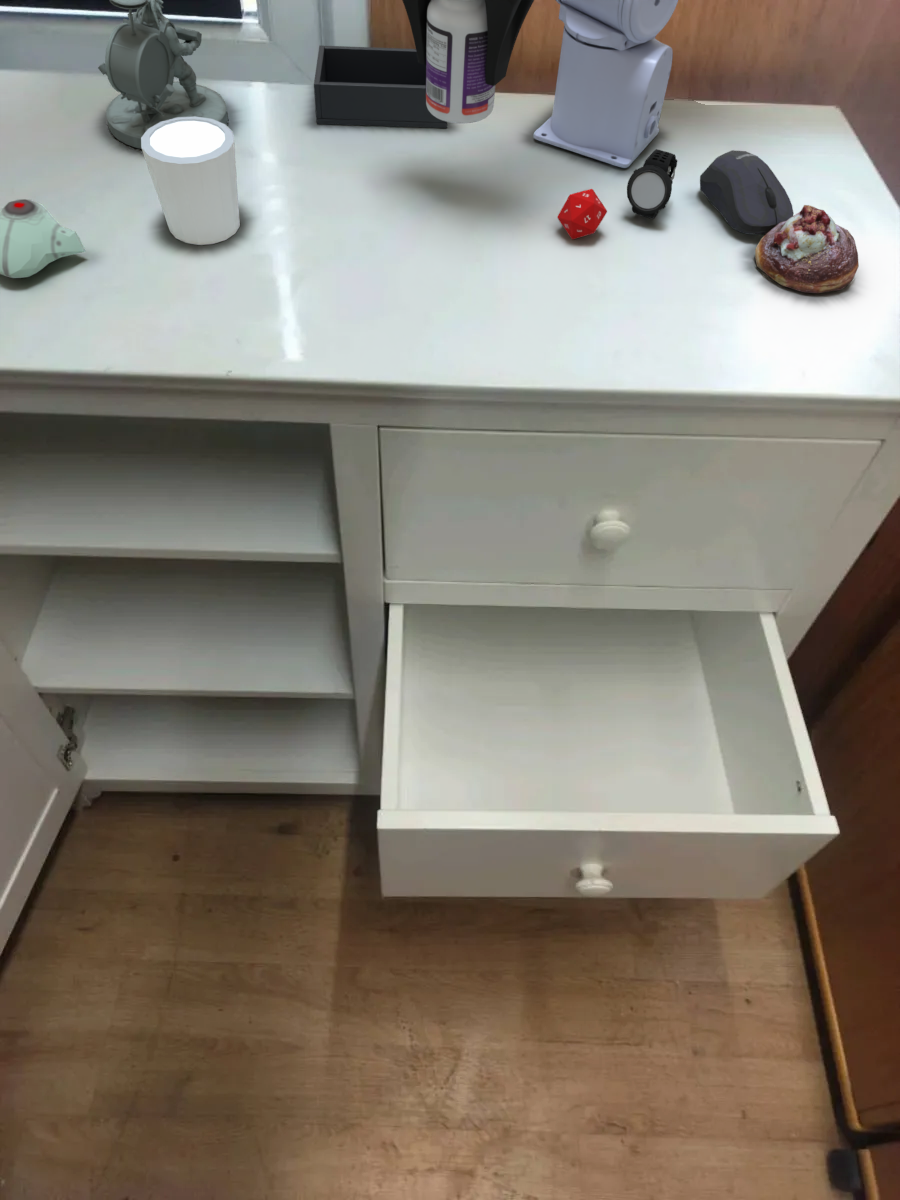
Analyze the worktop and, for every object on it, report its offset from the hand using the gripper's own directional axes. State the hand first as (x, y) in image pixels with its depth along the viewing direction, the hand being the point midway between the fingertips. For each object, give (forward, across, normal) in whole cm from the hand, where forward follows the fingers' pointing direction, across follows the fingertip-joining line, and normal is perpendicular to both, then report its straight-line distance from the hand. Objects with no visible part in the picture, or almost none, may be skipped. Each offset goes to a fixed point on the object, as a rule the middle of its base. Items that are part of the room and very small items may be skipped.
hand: (461, 69), depth 68 cm
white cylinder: (+10, -15, -16) cm, 24 cm away
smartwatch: (+10, +16, +6) cm, 20 cm away
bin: (+10, -13, +9) cm, 19 cm away
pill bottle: (+3, 0, 0) cm, 3 cm away
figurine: (+10, -28, -4) cm, 30 cm away
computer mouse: (+10, +22, +11) cm, 26 cm away
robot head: (+8, -21, -30) cm, 38 cm away
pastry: (+10, +29, +6) cm, 31 cm away
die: (+10, +12, 0) cm, 15 cm away
